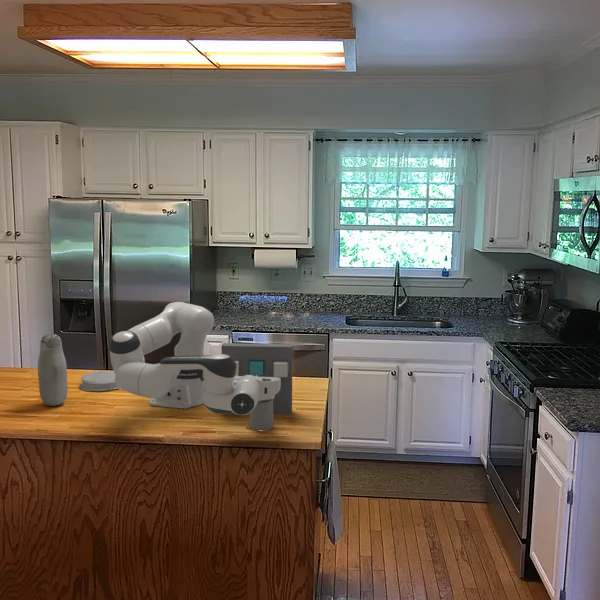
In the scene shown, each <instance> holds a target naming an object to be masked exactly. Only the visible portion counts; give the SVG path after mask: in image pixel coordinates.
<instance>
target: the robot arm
mask: <svg viewBox="0 0 600 600" xmlns="http://www.w3.org/2000/svg"><path fill="white" fill-rule="evenodd" d="M214 325H215V317H214V315H213V313H212V312H211V311H210V310H209V309H207V308H205V307H203V306H202V305H201V306H200V305H197V304H193V303H187V302H183V301H175V302H170V303H168V304H167V305H166V306H165V307H164V309H163V311H162V312H160V314H157V315H156V316H154V317H152V318H150V319H148V320H146V321H144V322H141V323H139V324H137V325H135V326H133V327H131V328H129V329H127V330H121V331H117V332H115V333H114V334H113V335H112V336H111V337H110V338H109V341H108V350H109V355H110V362H111V366H112V369H113V371H114V373H115V382H116V384H117V386H118V387H119V388H120V390H122V391H123V392H126V393H129V394H132V395H134V396H139V397H144V398H148V399H150V400H149V405H150V406H153V407H155V406H156V407H164V408H173V409H183V408H184V409H189V408H192V407H197V406H201V405H204V407H205V408H206V409H207V410H208V411H210V412H212V413H214V414H217V415H218V414H219V415H231V414H232V413H235V415H238V416H246V415H249V414H248V413H250V412H252V411H253V410H254V409H255V407H256V405H257V403H258V401H262V400H269V399H274V397H275V395H276V394H277V393H278V392H279V390H280V388H281V378H279V377H258V375H245V376H235V374H236V368H237V364H236V363H235V361H234V360H233V359H232V357H231V356H229V355H225V354H222V353H221V354H219V353H218V354H211V355H210V354H209V355H204V348H205V347H204V345H205V341H206V338H207V336H208V334H209V333H210V332H211V331H212V330H213V328H214ZM177 334H180V338H179V341H178V343H177V344H176V345H175V346H174V356H166V357H164V358H161V360H160V361H159V363H154V364H153V363H148V362H147V363H146V361H145V355H147V354H150V353H152V352H154V351H156V350H158V349H160V348H162V347H164V346H166V345H168V344H170V343H171V342H172V339H173V337H175V335H177ZM184 409H183V410H184Z"/></svg>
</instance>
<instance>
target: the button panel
mask: <svg viewBox="0 0 600 600" xmlns="http://www.w3.org/2000/svg"><path fill="white" fill-rule="evenodd" d="M220 347H221V354H225V355H229V356H231V357H232V359H233V360H240V373H239V375H238V376H245V375H250V360H264V374H263V375H258V377H274V361H288V376H287V377H279V378H281V388H280V390H279V392H278V393H277V394H276V395H275V397H274V399H273V415H274V414H280V415H281V416H283V415H284V416H286V415H287V416H292V414H293V355H294V354H293V350H294V349H293V347H294V346H293V344H291V343H290V344H286V343H285V344H283V343H280V344H279V343H274V344H273V343H235V342H234V343H232V342H231V343H229V342H227V343H226V342H224V343H222V344H221V346H220ZM247 415H250V413H248V414H247Z"/></svg>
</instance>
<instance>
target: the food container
mask: <svg viewBox="0 0 600 600" xmlns="http://www.w3.org/2000/svg"><path fill="white" fill-rule="evenodd" d="M81 381H82V382H81V383H80V384H79V388H80V389H81V390H83V391H85V392H86V391H87V392H88V391H89V392H93V391H95V392H105V391H112V390H119V389H120V388H119V387H118V386H117V384H116V382H115V373H114V370H109V369H108V370H97V371H96V370H95V371H91V372H87V373H85V374H83V375H82V376H81ZM120 390H121V389H120Z"/></svg>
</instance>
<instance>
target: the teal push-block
mask: <svg viewBox="0 0 600 600" xmlns="http://www.w3.org/2000/svg"><path fill="white" fill-rule="evenodd" d="M263 374H264V360H250V375H263Z"/></svg>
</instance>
